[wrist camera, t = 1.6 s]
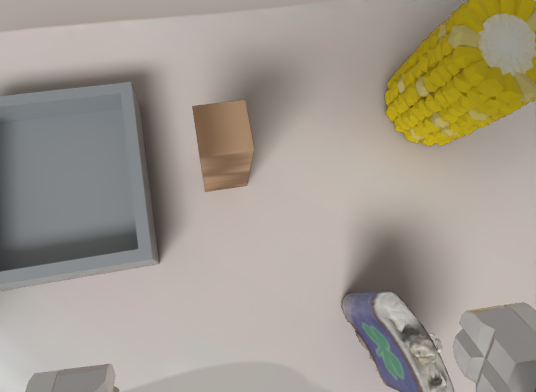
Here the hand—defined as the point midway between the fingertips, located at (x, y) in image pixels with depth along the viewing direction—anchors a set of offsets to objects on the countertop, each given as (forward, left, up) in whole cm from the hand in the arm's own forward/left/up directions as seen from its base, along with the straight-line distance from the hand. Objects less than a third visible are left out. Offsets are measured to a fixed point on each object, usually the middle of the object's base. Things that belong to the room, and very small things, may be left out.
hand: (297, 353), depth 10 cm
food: (-22, -17, -30) cm, 41 cm away
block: (0, -14, -30) cm, 33 cm away
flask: (-11, +4, -30) cm, 32 cm away
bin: (+14, -14, -30) cm, 35 cm away
